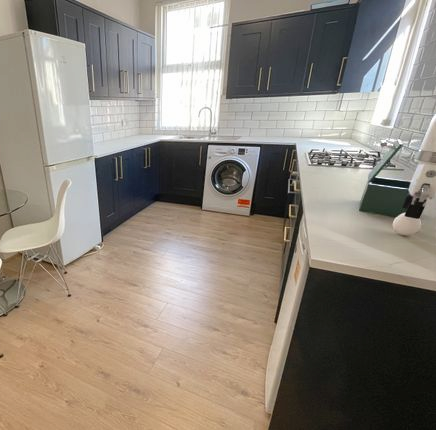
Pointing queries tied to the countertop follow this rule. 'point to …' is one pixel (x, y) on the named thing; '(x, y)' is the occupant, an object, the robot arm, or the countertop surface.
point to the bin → (385, 196)
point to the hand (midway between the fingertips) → (410, 212)
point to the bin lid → (384, 158)
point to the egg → (406, 225)
